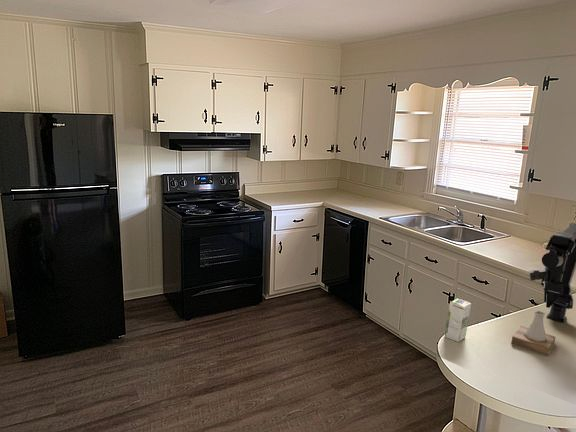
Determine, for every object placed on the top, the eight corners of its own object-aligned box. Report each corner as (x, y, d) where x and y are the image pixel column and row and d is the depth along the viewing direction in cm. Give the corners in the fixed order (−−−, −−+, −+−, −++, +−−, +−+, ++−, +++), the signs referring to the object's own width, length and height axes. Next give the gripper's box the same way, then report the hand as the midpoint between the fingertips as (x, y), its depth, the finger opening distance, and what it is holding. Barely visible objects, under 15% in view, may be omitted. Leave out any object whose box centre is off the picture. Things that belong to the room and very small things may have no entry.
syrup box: (451, 332, 173) (456, 297, 169) (465, 338, 169) (471, 302, 165) (444, 336, 169) (449, 301, 166) (459, 343, 165) (464, 306, 162)
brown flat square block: (519, 332, 175) (520, 325, 175) (554, 344, 168) (555, 336, 167) (511, 343, 166) (512, 336, 166) (547, 356, 159) (548, 348, 158)
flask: (532, 331, 171) (537, 307, 168) (550, 340, 164) (555, 315, 162) (519, 334, 167) (524, 310, 165) (537, 343, 161) (542, 318, 159)
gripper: (531, 258, 184) (522, 294, 186) (534, 264, 168) (524, 304, 170) (562, 264, 180) (553, 301, 182) (568, 272, 163) (558, 312, 165)
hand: (546, 304), depth 175 cm, fingers open, 9 cm apart
